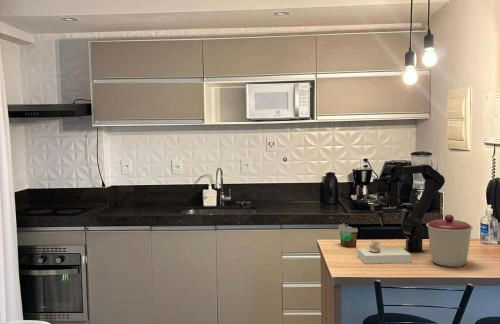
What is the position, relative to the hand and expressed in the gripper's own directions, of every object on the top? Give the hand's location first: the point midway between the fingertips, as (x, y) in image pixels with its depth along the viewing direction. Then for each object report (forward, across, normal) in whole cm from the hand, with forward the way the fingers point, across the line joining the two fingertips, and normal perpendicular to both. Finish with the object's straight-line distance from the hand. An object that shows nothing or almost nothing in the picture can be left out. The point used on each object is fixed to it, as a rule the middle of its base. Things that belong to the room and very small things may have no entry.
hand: (392, 225), depth 208 cm
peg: (+12, +11, +9) cm, 19 cm away
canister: (+13, -18, +18) cm, 29 cm away
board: (+13, +7, +9) cm, 17 cm away
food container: (+13, +18, -16) cm, 28 cm away
